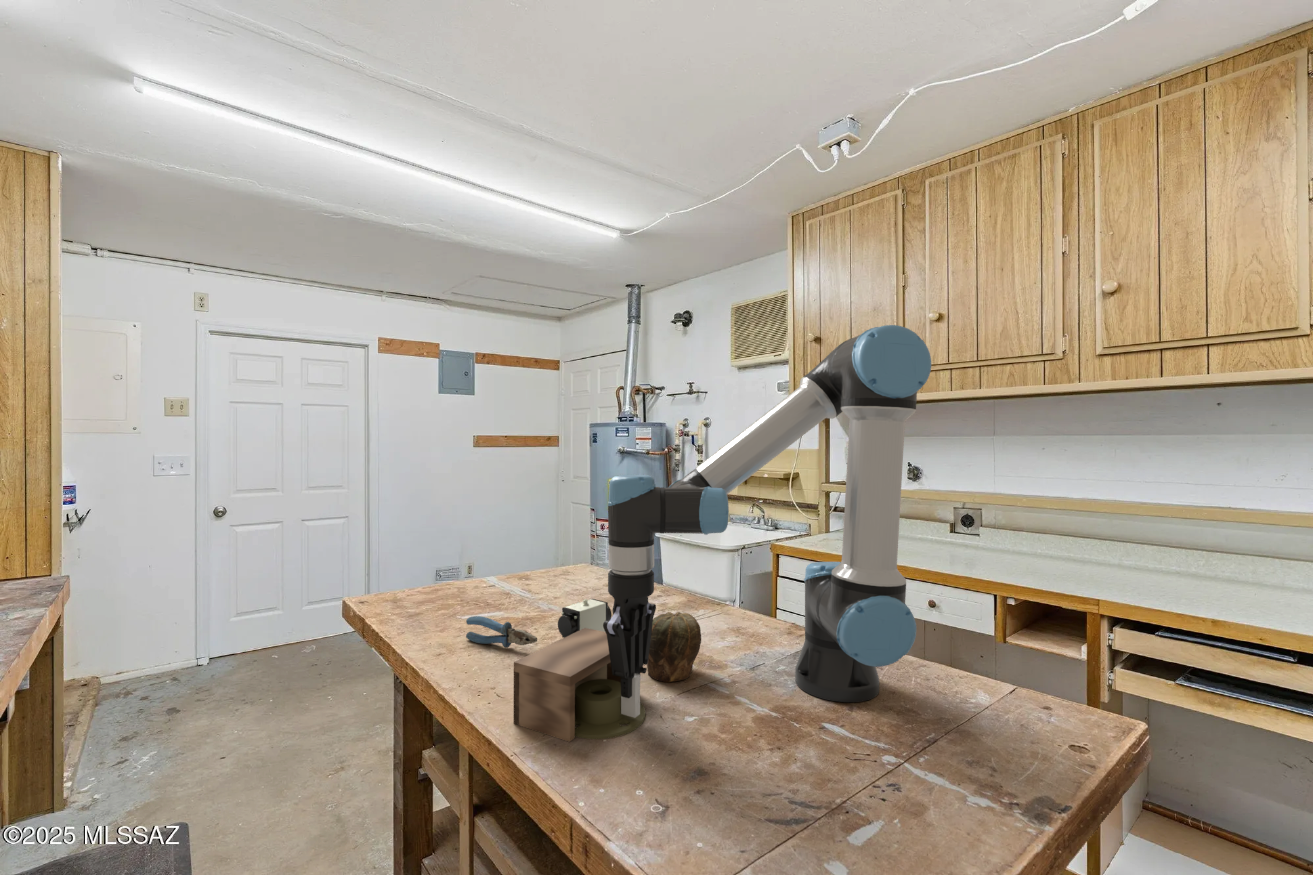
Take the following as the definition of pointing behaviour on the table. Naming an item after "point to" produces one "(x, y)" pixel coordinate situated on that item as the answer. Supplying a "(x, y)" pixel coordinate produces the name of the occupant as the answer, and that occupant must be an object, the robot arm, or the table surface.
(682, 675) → the green ball cactus
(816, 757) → the table surface
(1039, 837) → the table surface
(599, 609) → the pneumatic valve
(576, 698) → the flange
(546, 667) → the shelf
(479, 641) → the pliers
